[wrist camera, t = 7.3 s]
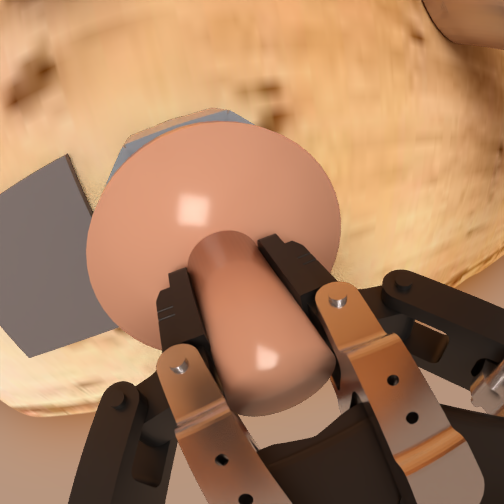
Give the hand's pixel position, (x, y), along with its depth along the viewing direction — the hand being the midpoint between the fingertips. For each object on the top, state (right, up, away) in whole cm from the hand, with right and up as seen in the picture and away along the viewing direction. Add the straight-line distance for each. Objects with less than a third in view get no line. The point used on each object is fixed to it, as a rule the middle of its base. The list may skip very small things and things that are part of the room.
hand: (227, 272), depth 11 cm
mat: (-13, -1, +4) cm, 14 cm away
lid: (-1, +1, +1) cm, 2 cm away
